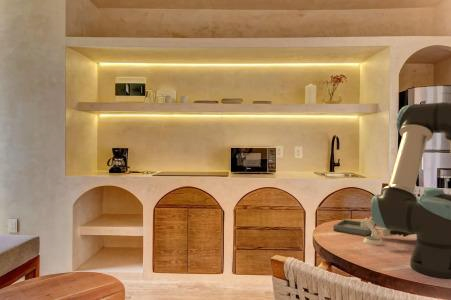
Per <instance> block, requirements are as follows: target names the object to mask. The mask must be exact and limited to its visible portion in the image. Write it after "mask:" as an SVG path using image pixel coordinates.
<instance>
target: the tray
mask: <svg viewBox="0 0 451 300" xmlns="http://www.w3.org/2000/svg"><path fill="white" fill-rule="evenodd" d="M374 229H375V230H376V226H375V227H374ZM333 231H335V232H341V233H347V234H353V235H359V236H360V235H361V236H366V237H368V236H370V235H371V234H372V231H371V230H370V228H369V227H361V221H359V220H349V219H342V220H340V221H338V222H337V223H335V224H333Z"/></svg>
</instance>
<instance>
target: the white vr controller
mask: <svg viewBox="0 0 451 300" xmlns="http://www.w3.org/2000/svg"><path fill="white" fill-rule="evenodd" d="M363 221H365V223H366V224H367V225H368V227H369V228H370V230H371V231H372V232H371V233H370V236H366V237H364V239H363V243H364V244H367V245H372V246H373V245H374V246H382V245H384V241H383V239H382V238H381V237H378V235H379V233H378V231H377V230H376V228H375V229H374V227H373V226H372V224H371V223H370V221H369V218H367V217H365V218H364V219H363Z"/></svg>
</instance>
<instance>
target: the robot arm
mask: <svg viewBox="0 0 451 300" xmlns="http://www.w3.org/2000/svg"><path fill="white" fill-rule="evenodd" d="M396 129H397V131H398V132H399V135H400V136H401V140H400V143H399V147H398V149H397V150H398V151H397V152H396V153H397V154H396V156H395V160H394V164H393V167H392V170H391V175H390V177H389V182H388V184H387V185H386V186H384V187H383V188H382V189H381V192H380V194H375V195H373V196H372V198H371V201H370V215H371V219H370V220H369V219H368V220H369V221H370V223H371V224H372V226H373V227H375V228H376V227H379V228H381V236H382V237H387V236H402V237H408V236H411V235H412V236H413V235H416V245H415V246H414V248H413V249H414V250H413V252H412V255H411V257H410V260H409V261H410V264H409V265H410V267H411V269H413V270H414V271H416V272H418V273H421V274H423V275H427V276H430V277H434V278H440V279H450V278H451V194H449V193H445V192H444V189H443V188H437V187H426V188H424V190H423V195H420V196H419V195H418V196H416V194H415V192H414V191H415V188H416V187H415V186H416V184H417V180H418V176H419V172H420V168H421V164H422V160H423V156H424V153H425V149H426V146H427V145H426V144H427V142H429V141H431V140H432V139H433V137H434V134H442V133H443V134H444V135H445V139H446V140H447V141H448V142H449V143H448V144H449V151H450V153H451V102H447V101H446V102H444V101H442V102H430V103H412V104H409V105H404V106H403V107H401V109H400V110H399V112H398V114H397V117H396ZM360 222H361V227H368V225H367V224H366V223H365V221H364V220H360Z"/></svg>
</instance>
